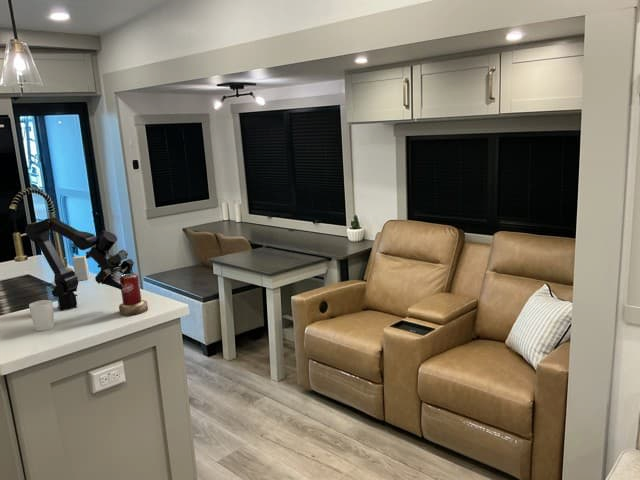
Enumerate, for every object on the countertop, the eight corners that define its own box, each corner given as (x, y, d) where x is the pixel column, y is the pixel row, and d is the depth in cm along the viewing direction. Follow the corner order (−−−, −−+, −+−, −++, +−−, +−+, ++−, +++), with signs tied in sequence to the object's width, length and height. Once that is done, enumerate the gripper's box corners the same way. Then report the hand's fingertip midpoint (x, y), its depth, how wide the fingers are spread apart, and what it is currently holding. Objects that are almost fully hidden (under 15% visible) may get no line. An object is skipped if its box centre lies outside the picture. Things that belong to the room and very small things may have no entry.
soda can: (131, 307, 212) (127, 278, 209) (119, 305, 215) (115, 277, 213) (145, 302, 218) (141, 274, 215) (133, 300, 221) (129, 272, 219)
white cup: (38, 325, 207) (34, 300, 205) (59, 323, 208) (55, 299, 206) (29, 332, 199) (25, 307, 197) (51, 330, 200) (46, 305, 198)
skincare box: (90, 277, 274) (86, 255, 272) (88, 280, 270) (84, 257, 267) (77, 278, 273) (74, 256, 271) (75, 281, 269) (71, 258, 266)
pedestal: (125, 317, 209) (124, 310, 209) (116, 311, 218) (115, 304, 217) (152, 310, 216) (151, 303, 215) (142, 304, 225) (141, 297, 224)
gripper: (97, 250, 204) (125, 279, 203) (127, 240, 222) (153, 266, 221) (83, 269, 208) (110, 297, 207) (113, 257, 226) (139, 283, 225)
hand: (129, 285), depth 215 cm, fingers open, 9 cm apart
